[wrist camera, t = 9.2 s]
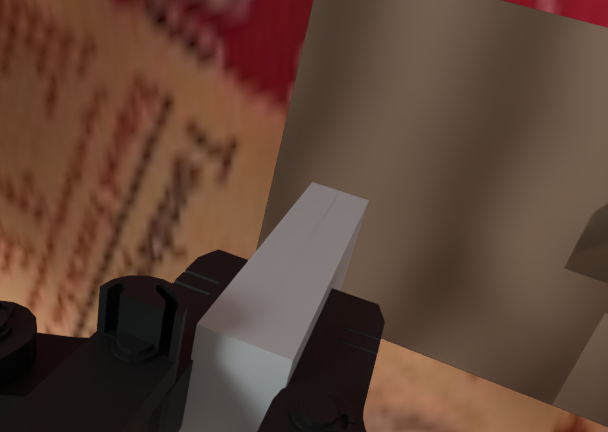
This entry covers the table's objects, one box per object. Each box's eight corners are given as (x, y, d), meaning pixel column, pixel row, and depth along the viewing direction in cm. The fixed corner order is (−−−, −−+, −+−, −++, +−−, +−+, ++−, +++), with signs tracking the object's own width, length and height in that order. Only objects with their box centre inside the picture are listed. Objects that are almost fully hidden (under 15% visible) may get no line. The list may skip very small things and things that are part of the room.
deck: (268, 263, 27) (248, 286, 25) (341, -40, 21) (323, -46, 19) (743, 444, 23) (771, 491, 21) (998, 130, 17) (1076, 148, 15)
